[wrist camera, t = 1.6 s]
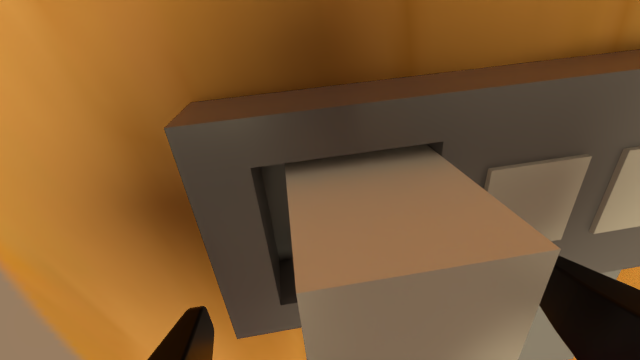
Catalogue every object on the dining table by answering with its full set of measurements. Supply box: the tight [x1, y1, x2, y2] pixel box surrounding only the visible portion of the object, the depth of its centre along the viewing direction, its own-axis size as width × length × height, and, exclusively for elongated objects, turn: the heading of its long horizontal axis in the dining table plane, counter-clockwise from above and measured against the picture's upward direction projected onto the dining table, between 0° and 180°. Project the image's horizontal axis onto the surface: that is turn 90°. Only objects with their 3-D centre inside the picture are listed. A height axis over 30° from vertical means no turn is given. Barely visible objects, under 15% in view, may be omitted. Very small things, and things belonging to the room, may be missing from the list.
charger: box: [285, 144, 561, 360], centre depth 10 cm, size 5×5×7 cm
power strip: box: [164, 49, 640, 339], centre depth 12 cm, size 22×9×4 cm, turn 95°
